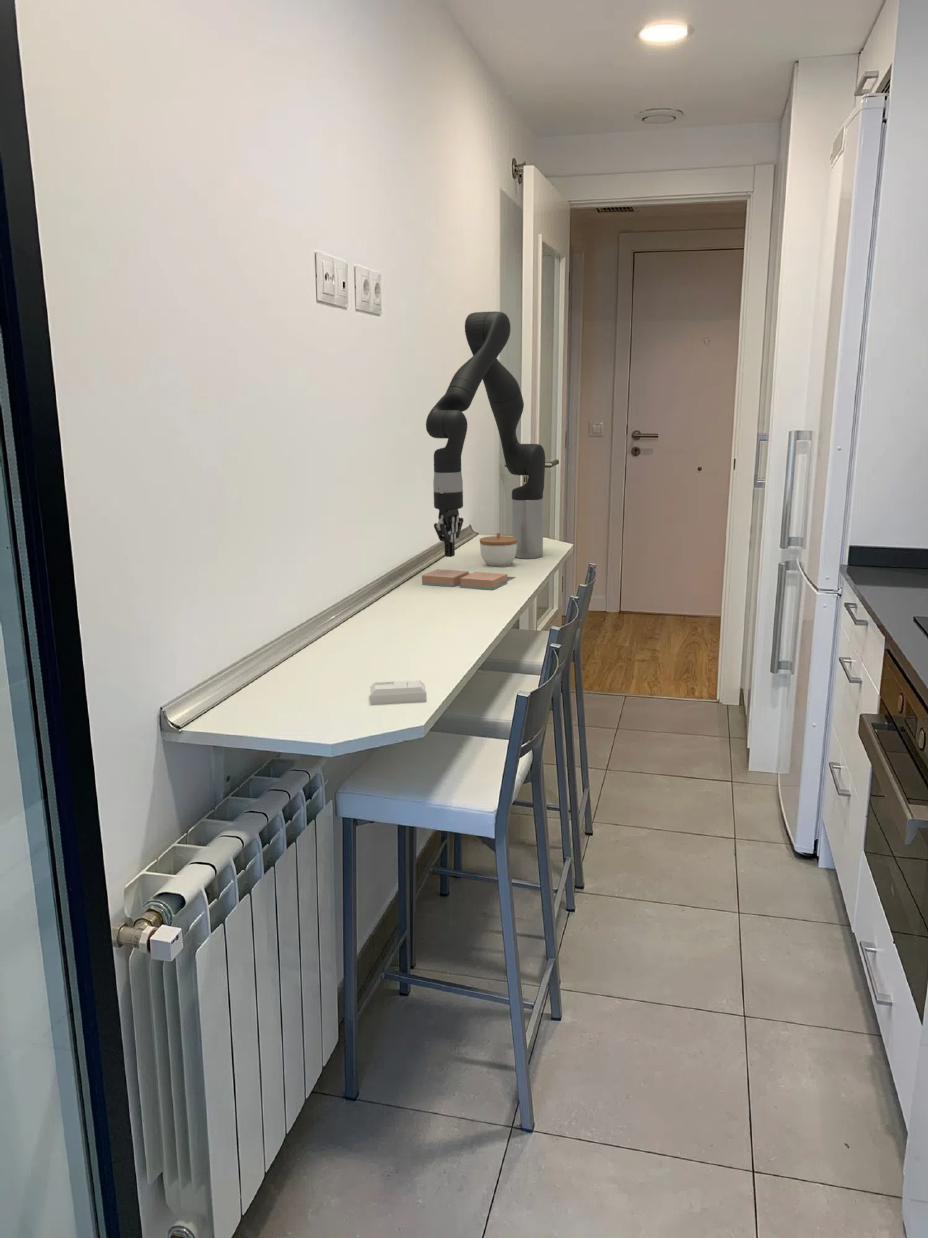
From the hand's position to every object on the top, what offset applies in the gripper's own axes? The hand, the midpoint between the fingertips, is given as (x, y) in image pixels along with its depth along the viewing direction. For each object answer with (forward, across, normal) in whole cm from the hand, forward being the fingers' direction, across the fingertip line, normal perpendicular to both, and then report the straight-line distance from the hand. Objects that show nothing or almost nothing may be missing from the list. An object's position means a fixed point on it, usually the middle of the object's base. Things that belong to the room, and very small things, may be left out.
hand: (449, 556), depth 246 cm
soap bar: (+8, +89, +35) cm, 96 cm away
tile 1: (+5, -2, 0) cm, 5 cm away
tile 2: (+5, -2, +11) cm, 12 cm away
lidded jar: (+7, -26, +2) cm, 27 cm away
